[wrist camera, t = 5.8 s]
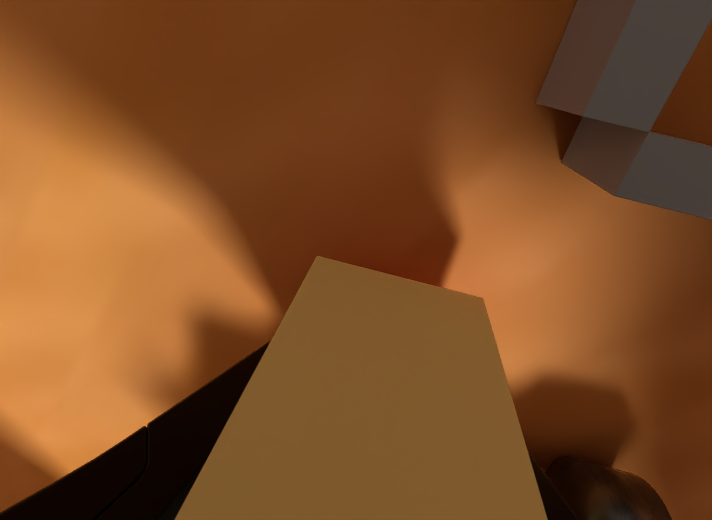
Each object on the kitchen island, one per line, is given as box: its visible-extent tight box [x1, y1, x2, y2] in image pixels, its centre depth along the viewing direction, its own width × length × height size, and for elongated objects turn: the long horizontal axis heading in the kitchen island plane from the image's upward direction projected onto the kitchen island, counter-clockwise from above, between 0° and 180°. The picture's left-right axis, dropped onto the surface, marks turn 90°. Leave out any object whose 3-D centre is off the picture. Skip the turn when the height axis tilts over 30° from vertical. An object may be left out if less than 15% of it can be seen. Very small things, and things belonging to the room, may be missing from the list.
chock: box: [175, 256, 548, 520], centre depth 7 cm, size 4×4×6 cm
